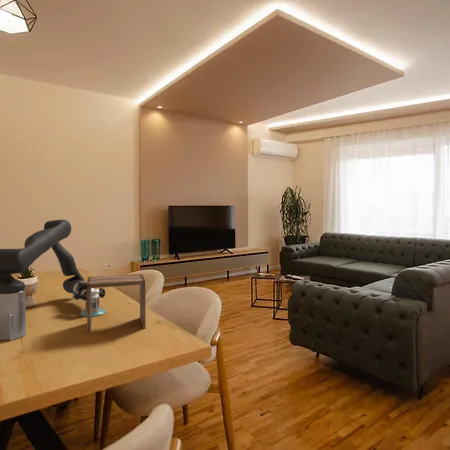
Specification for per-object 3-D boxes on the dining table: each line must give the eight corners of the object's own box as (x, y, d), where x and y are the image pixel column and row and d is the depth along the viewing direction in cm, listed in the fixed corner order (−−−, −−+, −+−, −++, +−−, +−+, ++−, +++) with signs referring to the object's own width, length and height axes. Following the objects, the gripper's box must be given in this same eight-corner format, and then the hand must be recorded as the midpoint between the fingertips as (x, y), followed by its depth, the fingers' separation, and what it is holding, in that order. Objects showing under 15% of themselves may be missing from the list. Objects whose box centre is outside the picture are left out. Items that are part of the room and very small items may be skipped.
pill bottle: (91, 309, 165) (91, 288, 165) (101, 310, 164) (101, 289, 163) (83, 312, 160) (82, 291, 159) (93, 314, 158) (93, 292, 158)
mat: (99, 317, 156) (99, 316, 156) (75, 316, 157) (75, 315, 157) (110, 309, 167) (110, 308, 167) (88, 308, 168) (87, 307, 168)
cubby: (145, 328, 143) (145, 280, 142) (87, 334, 136) (86, 284, 135) (142, 317, 156) (142, 274, 155) (89, 322, 149) (88, 277, 148)
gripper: (67, 284, 168) (77, 291, 155) (98, 280, 177) (110, 286, 164) (68, 299, 168) (78, 308, 155) (98, 295, 177) (110, 302, 164)
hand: (94, 297), depth 160 cm, fingers open, 7 cm apart
